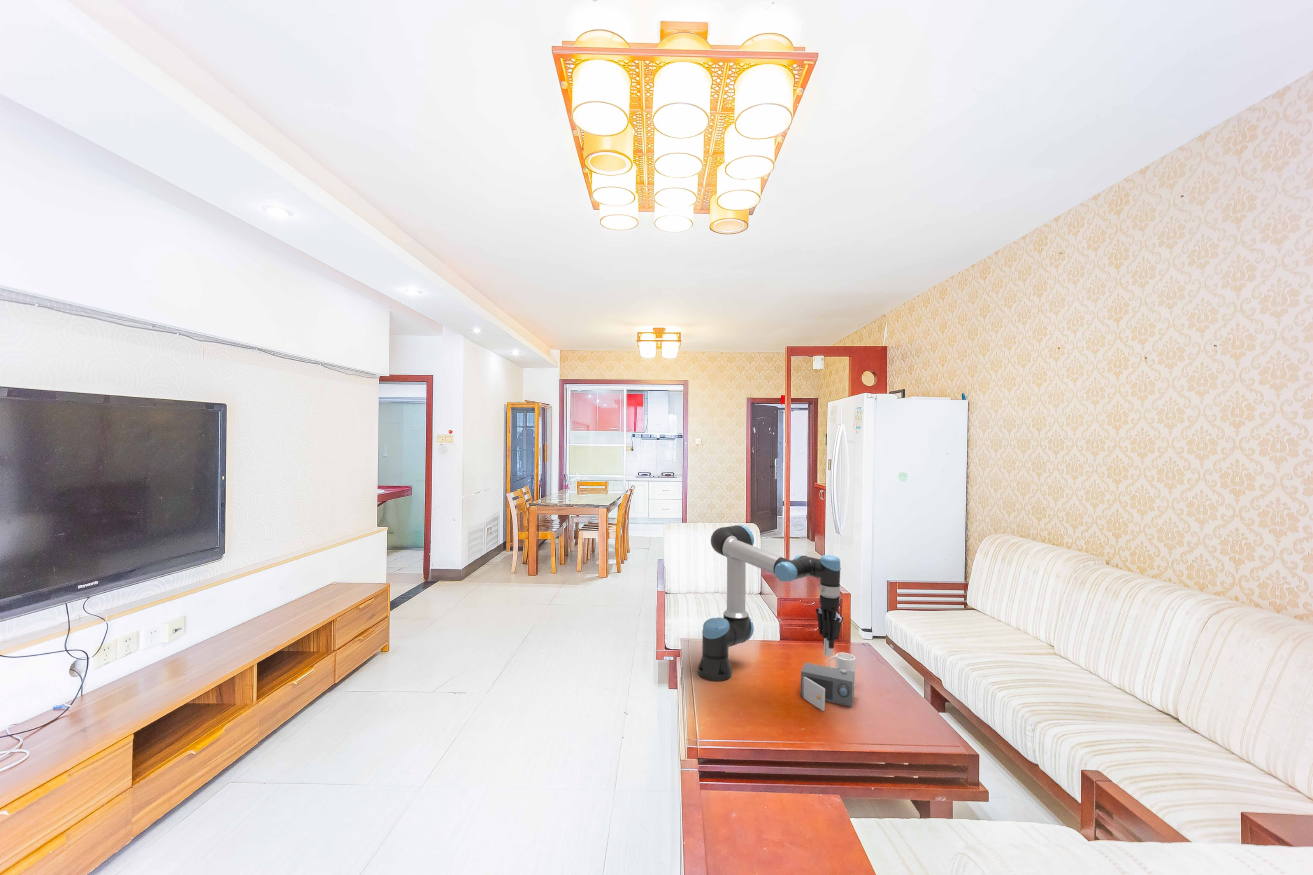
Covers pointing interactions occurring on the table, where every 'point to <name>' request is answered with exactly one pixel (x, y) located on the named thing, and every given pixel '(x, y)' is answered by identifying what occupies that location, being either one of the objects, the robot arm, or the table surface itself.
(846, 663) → the mug
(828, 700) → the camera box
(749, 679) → the table surface
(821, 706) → the door
